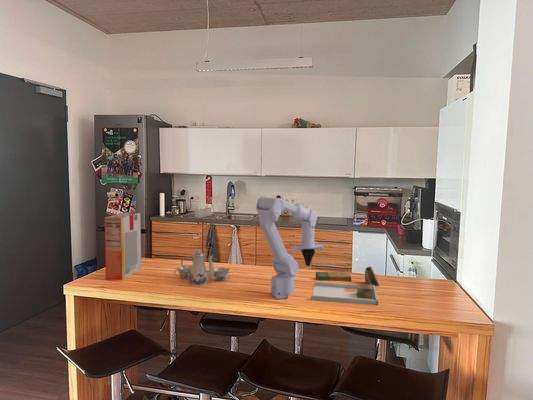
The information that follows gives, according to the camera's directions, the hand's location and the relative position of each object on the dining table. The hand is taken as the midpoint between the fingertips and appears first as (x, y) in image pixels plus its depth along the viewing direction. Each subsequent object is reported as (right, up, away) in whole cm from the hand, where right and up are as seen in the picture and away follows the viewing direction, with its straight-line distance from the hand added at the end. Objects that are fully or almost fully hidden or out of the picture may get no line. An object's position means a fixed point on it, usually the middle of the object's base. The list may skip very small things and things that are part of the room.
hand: (307, 265), depth 172 cm
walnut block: (+22, -10, -14) cm, 28 cm away
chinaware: (-50, -10, +10) cm, 52 cm away
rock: (+31, -11, +5) cm, 33 cm away
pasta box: (-91, -8, +22) cm, 94 cm away
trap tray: (+14, -12, -12) cm, 22 cm away
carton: (+13, -10, +12) cm, 21 cm away
